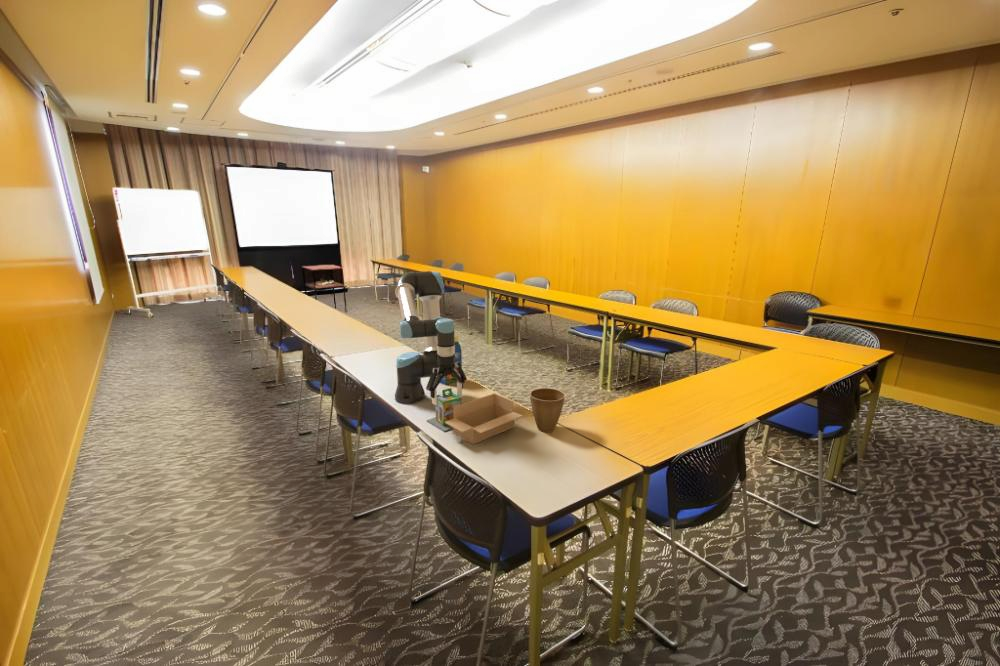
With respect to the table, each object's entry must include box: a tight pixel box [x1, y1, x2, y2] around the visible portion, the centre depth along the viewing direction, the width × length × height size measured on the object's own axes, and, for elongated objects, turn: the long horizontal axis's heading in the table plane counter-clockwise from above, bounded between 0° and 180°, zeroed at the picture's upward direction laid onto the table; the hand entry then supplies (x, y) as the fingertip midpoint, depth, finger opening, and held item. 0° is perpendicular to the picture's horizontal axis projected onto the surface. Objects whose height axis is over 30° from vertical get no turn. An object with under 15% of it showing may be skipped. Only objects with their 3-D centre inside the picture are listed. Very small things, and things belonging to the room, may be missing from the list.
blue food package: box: [439, 336, 463, 385], centre depth 244 cm, size 6×12×25 cm, turn 134°
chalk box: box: [434, 387, 462, 426], centre depth 194 cm, size 9×9×15 cm
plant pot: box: [529, 387, 566, 433], centre depth 188 cm, size 15×15×16 cm
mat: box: [426, 416, 454, 433], centre depth 196 cm, size 14×14×1 cm
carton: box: [445, 392, 523, 445], centre depth 184 cm, size 18×28×12 cm, turn 132°
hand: (447, 399), depth 194 cm, fingers open, 13 cm apart
